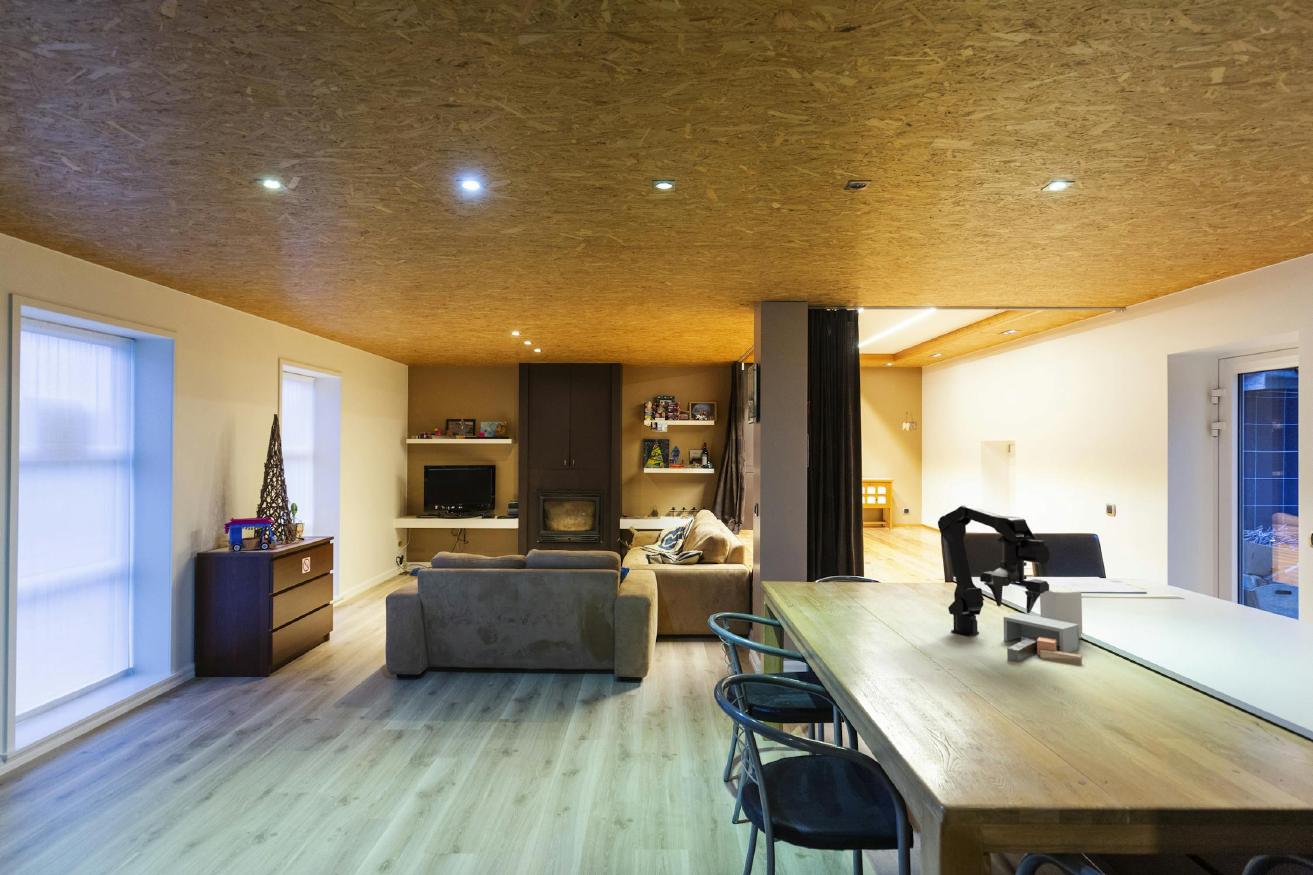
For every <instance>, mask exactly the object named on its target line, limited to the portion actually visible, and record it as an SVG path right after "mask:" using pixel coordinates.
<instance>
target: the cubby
mask: <svg viewBox="0 0 1313 875" xmlns="http://www.w3.org/2000/svg"><path fill="white" fill-rule="evenodd" d="M1021 636H1027V637H1033V638H1039V637H1042V638H1049V639H1056V646H1059V651H1060V652H1067V653H1072V652H1075V651H1078V650H1080V638H1079V624H1074V623H1069V622H1063V621H1058V620H1053V619H1048V618H1043V617H1041V616H1037V615H1032V614H1029V613H1024V612H1023V613H1022V612H1018V613H1013V614H1009V615H1006V616H1003V641H1007V642H1009V641H1012V640H1016V639H1019V638H1020V639H1021Z"/></svg>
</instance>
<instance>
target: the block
mask: <svg viewBox="0 0 1313 875" xmlns="http://www.w3.org/2000/svg"><path fill="white" fill-rule="evenodd" d="M1041 649H1047V650H1054V651H1058V650H1057V645H1056V639H1049V638H1042V637H1039V638H1038V640H1037V653H1036V654H1037V656H1038V657H1041V653H1040V651H1041Z"/></svg>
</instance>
